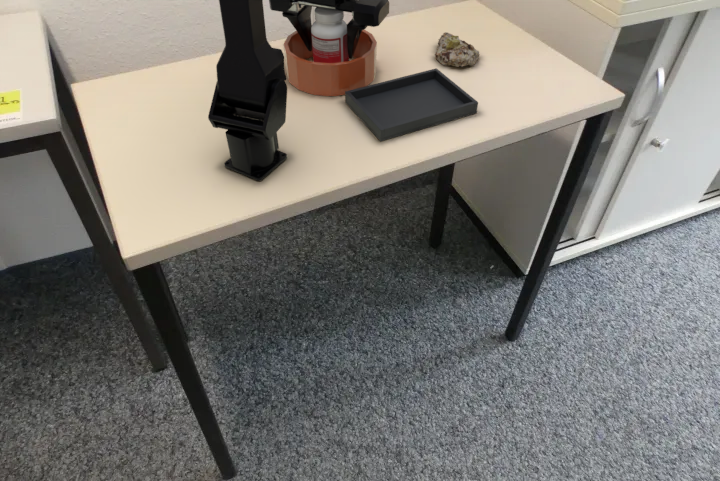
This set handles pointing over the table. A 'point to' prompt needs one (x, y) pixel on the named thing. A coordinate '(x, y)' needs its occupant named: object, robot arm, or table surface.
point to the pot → (330, 67)
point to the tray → (410, 103)
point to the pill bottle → (329, 36)
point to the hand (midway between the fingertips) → (331, 53)
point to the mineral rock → (455, 51)
